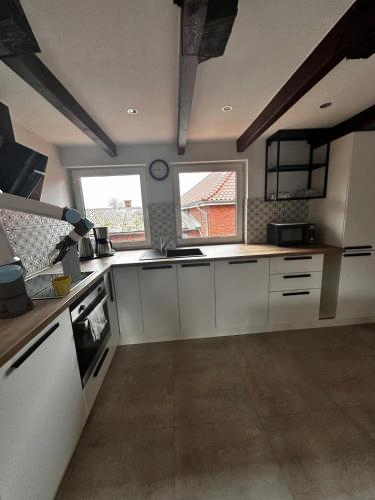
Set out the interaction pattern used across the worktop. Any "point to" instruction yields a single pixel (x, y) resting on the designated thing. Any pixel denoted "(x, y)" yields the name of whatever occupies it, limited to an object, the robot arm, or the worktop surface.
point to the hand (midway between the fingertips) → (49, 261)
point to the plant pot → (62, 284)
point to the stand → (72, 264)
